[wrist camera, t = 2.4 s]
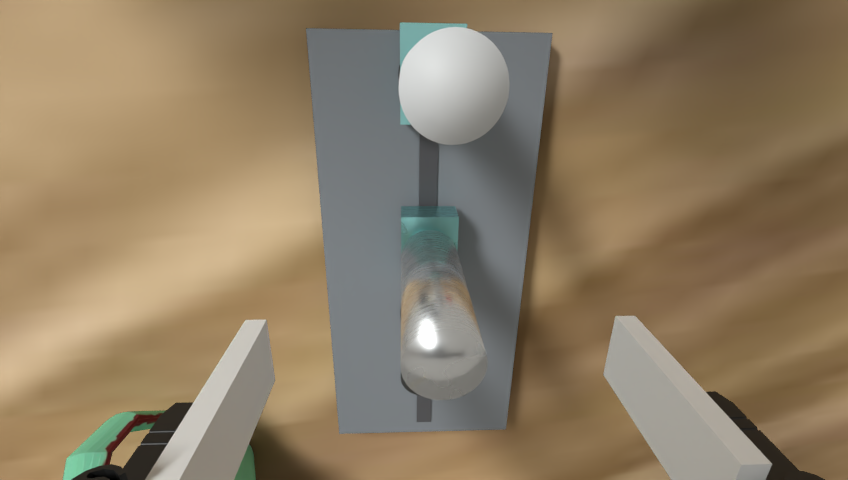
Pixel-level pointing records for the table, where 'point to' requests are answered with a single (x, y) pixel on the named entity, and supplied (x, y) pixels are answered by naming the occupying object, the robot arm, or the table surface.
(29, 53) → the table surface
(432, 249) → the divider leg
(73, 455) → the mug
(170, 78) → the table surface
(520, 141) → the grey and teal piece
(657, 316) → the table surface
